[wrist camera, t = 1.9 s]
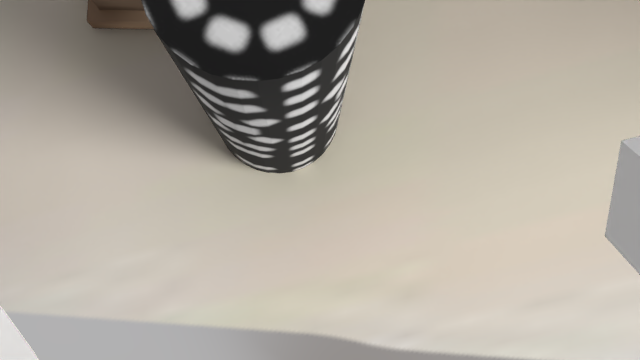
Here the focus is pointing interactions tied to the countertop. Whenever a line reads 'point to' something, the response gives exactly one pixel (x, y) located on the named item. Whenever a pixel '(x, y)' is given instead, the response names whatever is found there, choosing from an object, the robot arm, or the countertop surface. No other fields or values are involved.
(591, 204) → the countertop surface
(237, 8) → the white-spotted black cylinder
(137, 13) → the walnut board
